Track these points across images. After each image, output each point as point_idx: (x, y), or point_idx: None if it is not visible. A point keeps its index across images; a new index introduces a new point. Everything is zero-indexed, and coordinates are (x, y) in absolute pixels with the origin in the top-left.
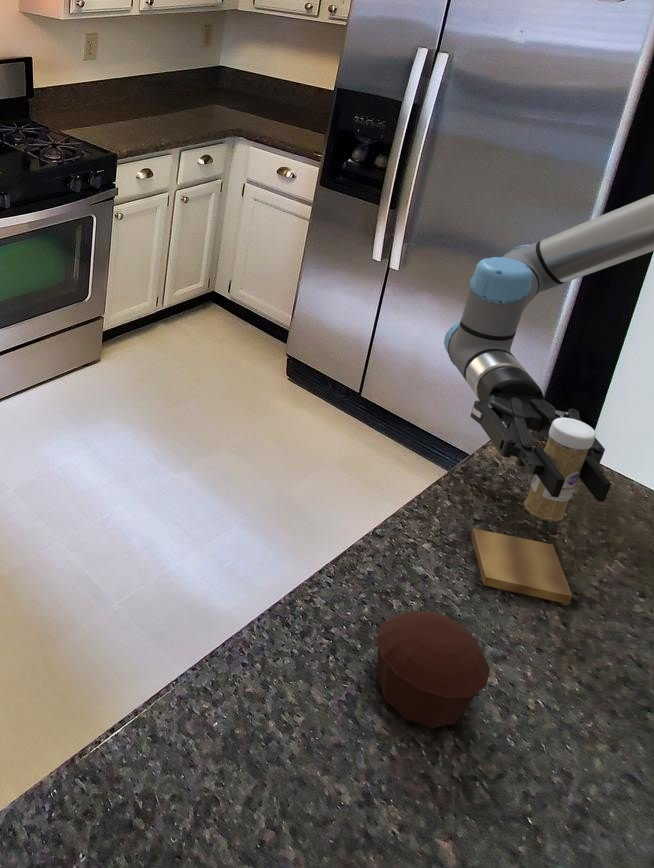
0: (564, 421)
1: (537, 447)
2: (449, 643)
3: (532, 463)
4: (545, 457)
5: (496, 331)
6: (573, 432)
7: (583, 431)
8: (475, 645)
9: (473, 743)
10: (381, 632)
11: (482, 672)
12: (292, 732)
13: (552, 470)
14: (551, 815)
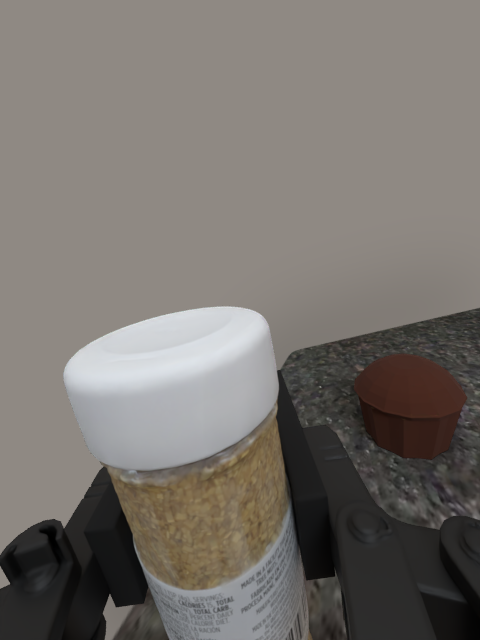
0: (193, 340)
1: (315, 493)
2: (392, 357)
3: (336, 437)
4: (292, 436)
5: None
6: (208, 308)
7: (155, 324)
8: (370, 375)
9: (354, 411)
10: (458, 384)
11: (360, 374)
12: (473, 385)
13: (286, 387)
14: (308, 391)
